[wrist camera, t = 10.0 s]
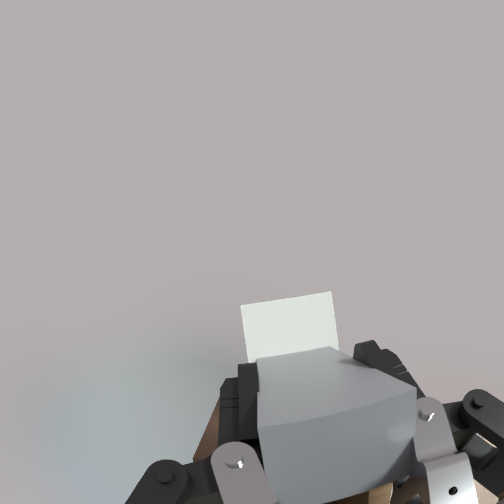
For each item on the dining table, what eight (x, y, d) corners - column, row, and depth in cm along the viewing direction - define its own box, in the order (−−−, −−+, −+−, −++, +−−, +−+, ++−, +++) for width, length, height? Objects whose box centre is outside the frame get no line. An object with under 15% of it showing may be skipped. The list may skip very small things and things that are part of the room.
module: (307, 357, 25) (298, 298, 26) (424, 467, 5) (420, 267, 6) (256, 365, 25) (247, 306, 26) (253, 513, 5) (215, 302, 6)
